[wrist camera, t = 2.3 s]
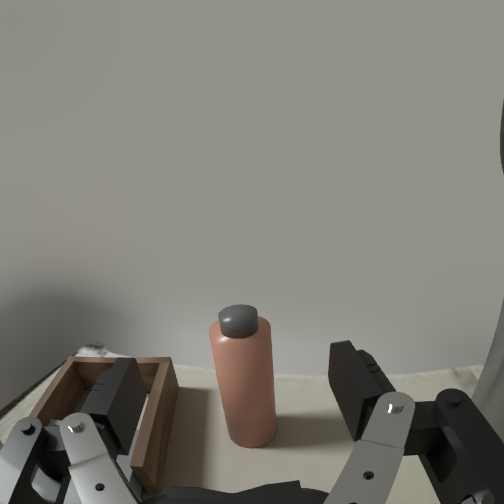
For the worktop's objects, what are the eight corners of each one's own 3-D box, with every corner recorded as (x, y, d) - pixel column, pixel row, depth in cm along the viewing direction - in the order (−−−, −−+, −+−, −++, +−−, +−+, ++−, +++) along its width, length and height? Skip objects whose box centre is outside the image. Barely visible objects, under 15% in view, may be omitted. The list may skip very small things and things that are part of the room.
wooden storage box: (178, 386, 37) (170, 356, 36) (159, 493, 20) (142, 467, 19) (81, 383, 36) (69, 356, 35) (36, 468, 20) (13, 440, 18)
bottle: (273, 412, 32) (265, 297, 27) (279, 444, 27) (273, 325, 22) (228, 416, 31) (208, 302, 27) (229, 449, 26) (204, 331, 22)
